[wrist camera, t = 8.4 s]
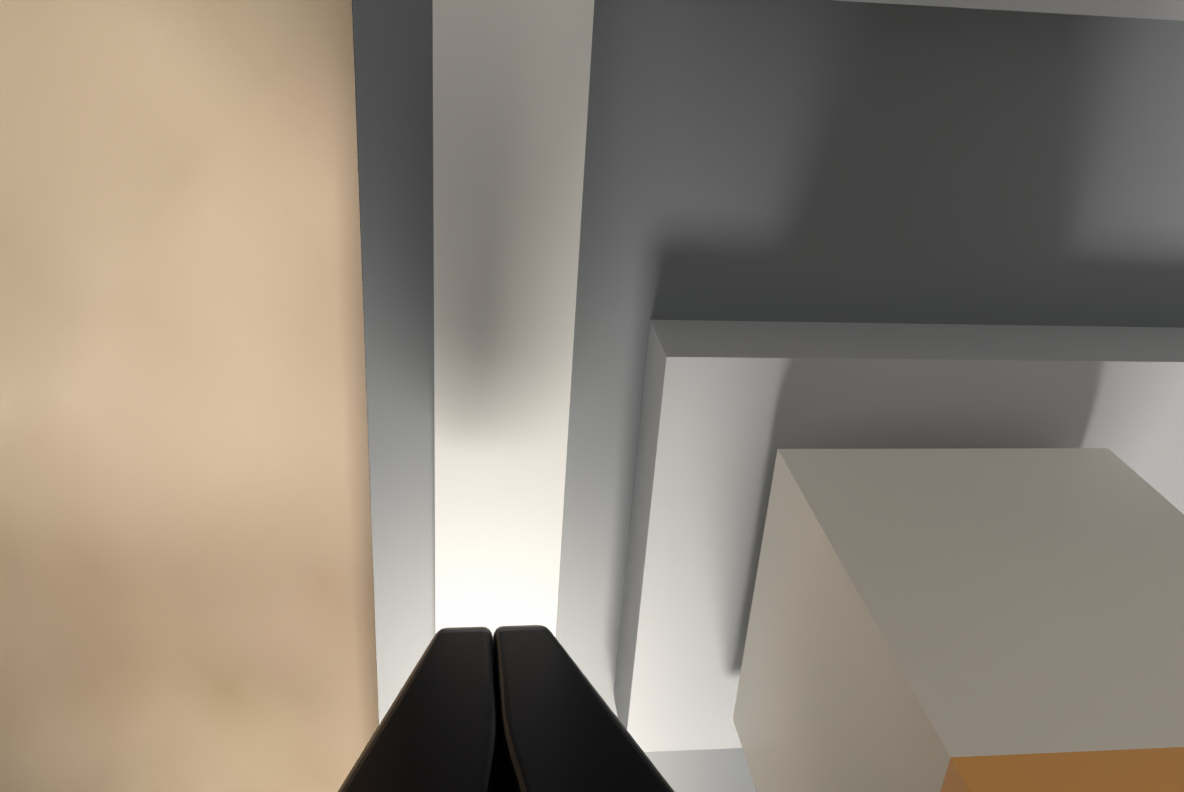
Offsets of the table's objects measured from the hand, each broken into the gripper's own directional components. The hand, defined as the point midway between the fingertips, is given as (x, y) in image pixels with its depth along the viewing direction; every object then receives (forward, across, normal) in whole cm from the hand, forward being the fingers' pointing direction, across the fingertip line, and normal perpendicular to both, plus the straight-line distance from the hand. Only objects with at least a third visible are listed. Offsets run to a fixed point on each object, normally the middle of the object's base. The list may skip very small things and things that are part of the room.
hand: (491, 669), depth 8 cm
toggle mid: (+1, -4, 0) cm, 4 cm away
